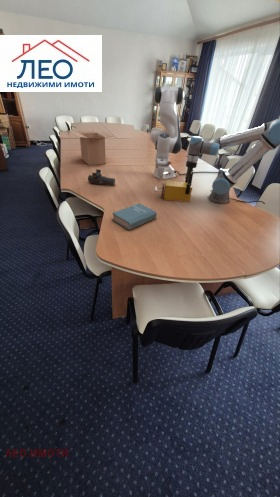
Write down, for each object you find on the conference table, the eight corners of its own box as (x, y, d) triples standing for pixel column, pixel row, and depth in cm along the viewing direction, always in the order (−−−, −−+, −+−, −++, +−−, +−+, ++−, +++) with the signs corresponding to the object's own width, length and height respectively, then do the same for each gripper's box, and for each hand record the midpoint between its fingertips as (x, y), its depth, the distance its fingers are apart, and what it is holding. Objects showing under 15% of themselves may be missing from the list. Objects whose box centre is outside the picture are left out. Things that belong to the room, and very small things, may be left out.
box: (116, 165, 229) (116, 136, 213) (83, 168, 214) (80, 137, 198) (102, 154, 259) (101, 128, 243) (71, 156, 244) (68, 129, 228)
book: (138, 209, 150) (139, 203, 147) (156, 219, 142) (156, 212, 139) (112, 220, 137) (112, 212, 134) (129, 230, 128) (130, 223, 125)
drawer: (153, 197, 168) (155, 185, 162) (154, 192, 175) (155, 181, 170) (185, 199, 167) (187, 188, 162) (184, 195, 175) (186, 183, 169)
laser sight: (112, 187, 180) (112, 175, 174) (86, 184, 183) (85, 171, 177) (115, 183, 187) (115, 171, 181) (90, 180, 190) (89, 168, 184)
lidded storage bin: (163, 199, 167) (165, 185, 161) (163, 194, 176) (165, 180, 170) (189, 201, 167) (192, 187, 160) (188, 196, 175) (190, 182, 169)
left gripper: (157, 155, 164) (155, 174, 172) (157, 163, 148) (155, 183, 156) (165, 156, 164) (163, 174, 172) (166, 164, 147) (163, 184, 156)
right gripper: (185, 156, 164) (180, 185, 177) (188, 165, 145) (182, 196, 158) (195, 157, 164) (189, 186, 177) (199, 166, 145) (192, 197, 158)
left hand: (159, 179), depth 164 cm, fingers open, 6 cm apart
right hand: (186, 191), depth 168 cm, fingers closed on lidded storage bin, 11 cm apart
